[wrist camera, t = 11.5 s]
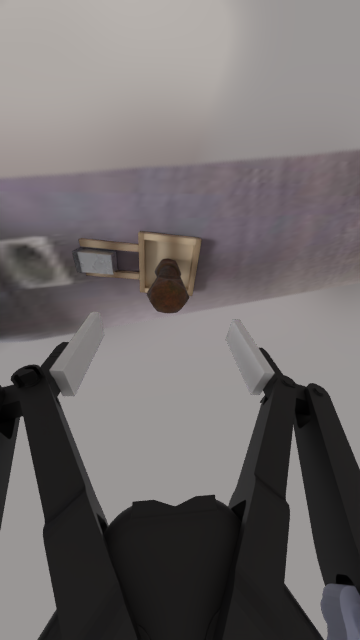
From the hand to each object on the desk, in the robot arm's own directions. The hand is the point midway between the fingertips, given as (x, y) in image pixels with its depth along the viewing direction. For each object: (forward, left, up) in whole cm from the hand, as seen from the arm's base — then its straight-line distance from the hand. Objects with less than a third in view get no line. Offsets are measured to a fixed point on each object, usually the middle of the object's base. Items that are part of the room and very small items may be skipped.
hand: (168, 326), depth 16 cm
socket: (-5, 0, -22) cm, 23 cm away
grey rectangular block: (-14, 0, -22) cm, 26 cm away
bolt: (0, 0, -22) cm, 22 cm away
